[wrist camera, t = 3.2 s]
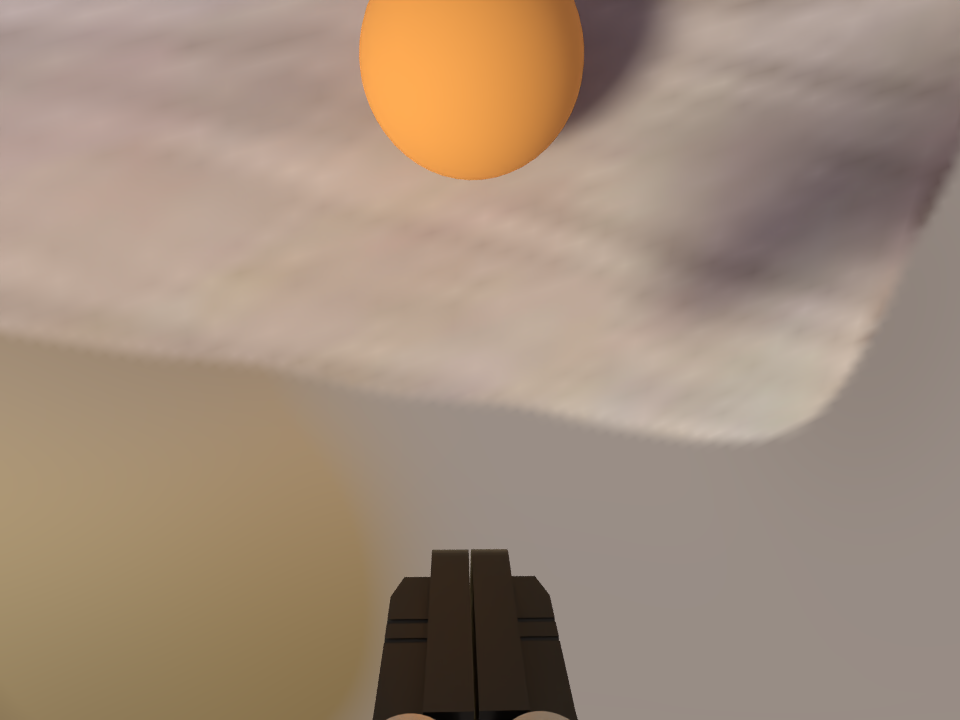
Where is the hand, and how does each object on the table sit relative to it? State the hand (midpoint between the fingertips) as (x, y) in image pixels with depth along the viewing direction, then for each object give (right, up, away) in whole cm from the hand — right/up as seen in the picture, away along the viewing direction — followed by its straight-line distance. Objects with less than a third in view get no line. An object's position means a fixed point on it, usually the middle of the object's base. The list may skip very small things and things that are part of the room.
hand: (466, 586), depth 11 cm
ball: (0, +12, +3) cm, 12 cm away
